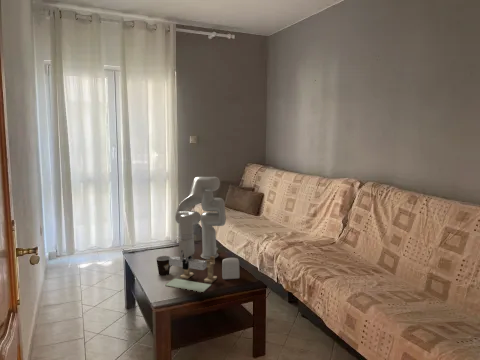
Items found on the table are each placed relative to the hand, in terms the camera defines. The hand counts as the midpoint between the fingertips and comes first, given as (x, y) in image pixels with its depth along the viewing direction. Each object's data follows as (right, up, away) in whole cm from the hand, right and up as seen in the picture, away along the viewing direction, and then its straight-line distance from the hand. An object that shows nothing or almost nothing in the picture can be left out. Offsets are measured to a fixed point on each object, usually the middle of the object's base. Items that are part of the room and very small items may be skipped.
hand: (187, 267), depth 201 cm
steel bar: (0, +1, 0) cm, 1 cm away
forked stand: (+5, -9, +12) cm, 16 cm away
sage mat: (0, -11, +1) cm, 11 cm away
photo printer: (+24, -9, +12) cm, 28 cm away
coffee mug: (-16, -9, +20) cm, 27 cm away
